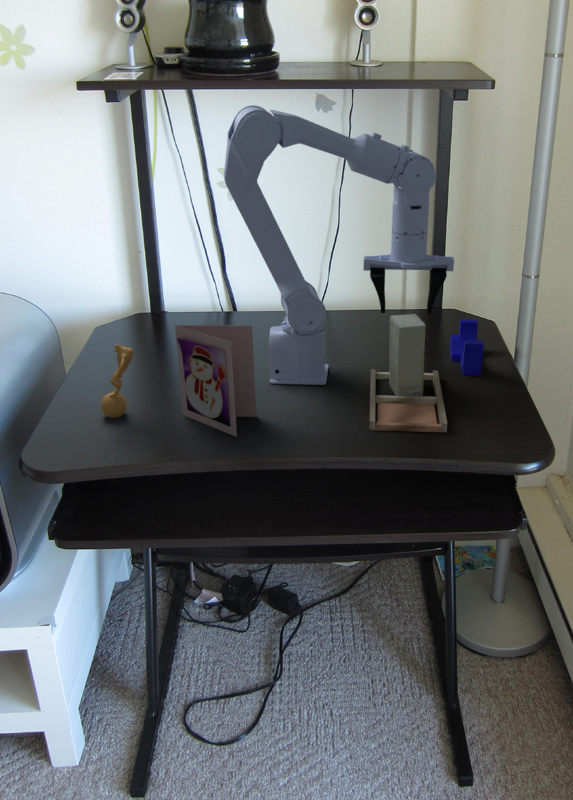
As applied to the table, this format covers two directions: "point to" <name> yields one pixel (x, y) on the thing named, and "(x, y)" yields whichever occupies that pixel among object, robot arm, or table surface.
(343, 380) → the table surface
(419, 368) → the skincare box
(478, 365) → the cable clip
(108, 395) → the figurine
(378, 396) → the pink framed panel
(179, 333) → the greeting card
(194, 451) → the table surface
